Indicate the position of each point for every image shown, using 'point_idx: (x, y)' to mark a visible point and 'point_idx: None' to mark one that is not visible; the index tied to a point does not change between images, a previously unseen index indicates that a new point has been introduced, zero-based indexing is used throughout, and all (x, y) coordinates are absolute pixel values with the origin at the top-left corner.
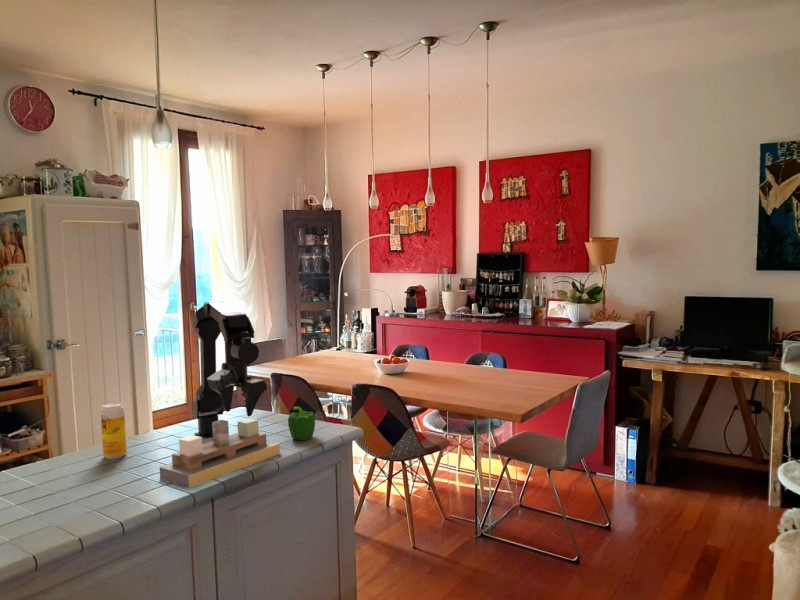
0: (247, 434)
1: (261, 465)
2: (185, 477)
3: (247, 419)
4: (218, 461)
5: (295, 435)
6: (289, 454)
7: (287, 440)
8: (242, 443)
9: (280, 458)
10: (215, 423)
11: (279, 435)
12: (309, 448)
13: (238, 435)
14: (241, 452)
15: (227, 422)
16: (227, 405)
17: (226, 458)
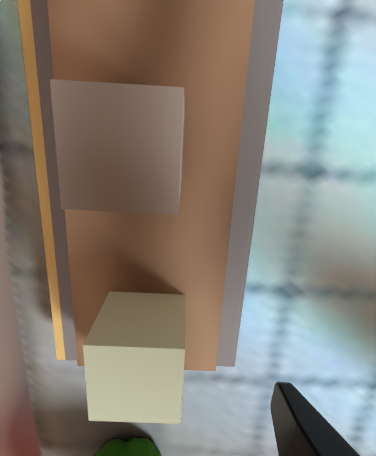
0: (105, 299)
1: (22, 214)
2: None
3: (159, 402)
4: None
5: (126, 450)
6: (38, 338)
7: (160, 425)
8: (69, 221)
9: (29, 297)
10: (122, 85)
11: (223, 446)
12: (33, 401)
13: (180, 292)
14: None
15: (65, 196)
16: (297, 454)
17: None
